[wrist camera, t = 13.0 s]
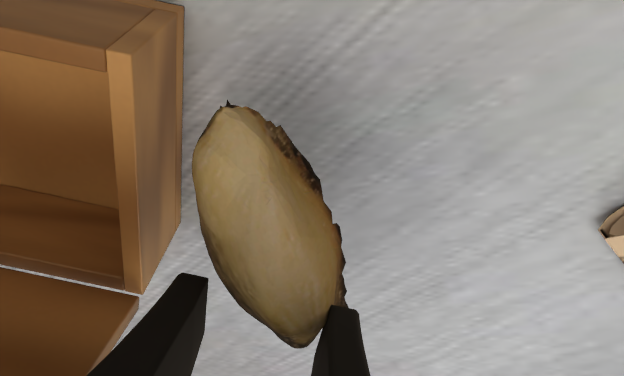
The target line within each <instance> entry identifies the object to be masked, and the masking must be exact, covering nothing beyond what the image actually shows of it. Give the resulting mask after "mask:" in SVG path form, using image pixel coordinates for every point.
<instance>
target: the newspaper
mask: <svg viewBox="0 0 624 376" xmlns="http://www.w3.org/2000/svg"><path fill="white" fill-rule="evenodd" d="M598 231H599V232H600V233H601V235H602V236H603V237H604V239H605V240H606V241H607V243H608V244H609V245H610V246H611V248H612V249H613V250H614V252H615V253H616V254H617V255H618V257H619V258H620V259H621V261H622V262H623V263H624V206H623V207H622V208H620V209H619V210H617V211H616V212H614V213H613V214H611V215H610V216H608V217H607V219H606V220H605V221H604V223H603V224H602V225H601V226H600V228H599V229H598Z"/></svg>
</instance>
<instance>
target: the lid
mask: <svg viewBox="0 0 624 376" xmlns="http://www.w3.org/2000/svg"><path fill="white" fill-rule="evenodd" d="M138 307H139V297H138V296H133V295H128V294H124V293H119V292H114V291H110V290H105V289H100V288H95V287H91V286H86V285H81V284H77V283H72V282H67V281H63V280H58V279H53V278H48V277H44V276H39V275H34V274H30V273H25V272H20V271H15V270H11V269H6V268H1V267H0V376H86V375H87V374H88V373H89V372H91V371H92V370H93V369H94V368H95V367H96V366H97V365H98V364H99V363H100V362H101V361H102V360H103V359H104V358H105V357H106V356H107V355H108V354H109V353H110V352H111V350H112V349H113V347H114V346H115V344H116V343H117V341H118V340H119V338H120V337H121V335H122V334H123V332H124V330H125V329H126V327H127V326H128V324H129V323H130V321H131V320H132V318H133V317H134V315H135V314H136V312H137V311H138Z"/></svg>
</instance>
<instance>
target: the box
mask: <svg viewBox="0 0 624 376" xmlns="http://www.w3.org/2000/svg"><path fill="white" fill-rule="evenodd" d="M183 38H184V7H183V6H178V5H174V4H169V3H164V2H160V1H155V0H0V264H1V265H6V266H11V267H16V268H20V269H25V270H30V271H34V272H39V273H44V274H48V275H53V276H58V277H63V278H67V279H72V280H77V281H81V282H86V283H91V284H96V285H100V286H105V287H110V288H114V289H119V290H125V291H127V292H132V293H137V294H141V295H142V294H144V292H145V290H146V288H147V286H148V284H149V282H150V280H151V278H152V276H153V274H154V272H155V271H156V269H157V267H158V265H159V263H160V261H161V259H162V257H163V255H164V253H165V251H166V249H167V247H168V245H169V243H170V242H171V240H172V238H173V236H174V234H175V232H176V230H177V228H178V226H179V224H180V222H181V161H182V99H183Z"/></svg>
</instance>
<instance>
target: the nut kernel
mask: <svg viewBox="0 0 624 376" xmlns="http://www.w3.org/2000/svg"><path fill="white" fill-rule="evenodd" d="M192 176H193V182H194V187H195V191H196V200H197V207H198V212H199V217H200V226H201V231H202V235H203V237H204V241H205V244H206V247H207V250H208V253H209V256H210V258H211V261H212V263H213V266H214V268H215V270H216V272H217V274H218V276H219V278H220V279H221V281H222V282H223V284H224V285H225V287H226V288H227V290H228V291H229V293H230V294H231V295H232V297H233V298H234V299H235V300H236V302H237V303H238V304H239V306H240V307H242V308H243V309H244V310H245V311H246V312H247V313H248V314H250V315H251V316H253V317H254V318H255V319H257V320H258V321H259V322H261V323H263V324H264V325H266V326H267V327H268V328H270V329H271V330H272V331H273V332H274V333H275V334H276V335H277V336H278V337H279V338H280V339H281V340H282V341H284V342H285V343H287V344H288V345H290V346H291V347H293V348H304V347H307V346H308V345H309V344H310V343H311V342H312V341H313V340H314V339H315V337H316V336H317V335H318V333H319V332H320V330H321V329H322V328H323V327H324V326H325V324H326V321H327V318H328V313H329V309H330V306H331V305H336V306H340V307H345V308H348V305H347V304H346V302H345V298H344V296H345V294H346V292H347V290H346V288H345V285H344V278H343V275H342V272H343V269H344V266H345V263H346V261H345V258H344V255H343V252H342V249H341V244H342V237H341V231H340V226H339V225H338V224H337V223H335V224H332V213H331V210H330V209H329V208H328V207H327V205H326V204H325V203H324V201H323V195H322V189H321V183H320V179H319V178H318V177H317V176H316V175H315V173H314V171H313V169H312V167H311V165H310V163H309V162H308V161H307V160H306V159H305V157H304V156H303V155H302V154H301V153H300V152H299V151H298V149H297V148H296V147H295V146H294V144H293V143H292V141H291V140H290V138H289V137H288V136H287V134H286V133H285V131H284V130H283V128H282V127H281V125H280V126H277V127H276V126H275V125H274V124H273V123H272V122H271V121H266V120H265V119H264V118H263V117H262V116H261V115H260V114H259V112H257V111H255V110H253V109H251V108H248V107H243V108H242V107H239V106H236V105H231V104H230V103H229V101H228V100H227V104H226V106H225V107H222V106H220V109H219V110H217V111H216V113H215V114H214V116H213V117H212V118H211V120H210V122H209V123H208V125H207V127H206V128H205V130H204V132H203V133H202V135H201V136H200V138H199V140H198V142H197V144H196V147H195V149H194V153H193V159H192Z"/></svg>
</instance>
